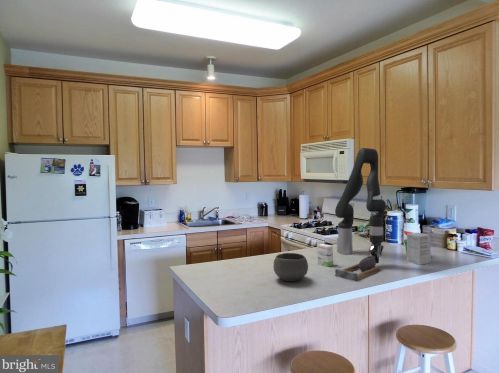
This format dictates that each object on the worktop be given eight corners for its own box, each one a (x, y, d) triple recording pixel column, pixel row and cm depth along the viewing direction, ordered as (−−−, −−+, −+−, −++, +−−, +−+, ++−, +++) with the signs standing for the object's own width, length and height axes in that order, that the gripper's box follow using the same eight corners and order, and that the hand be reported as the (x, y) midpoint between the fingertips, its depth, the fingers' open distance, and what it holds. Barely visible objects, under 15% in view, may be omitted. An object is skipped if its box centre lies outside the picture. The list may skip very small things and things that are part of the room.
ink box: (333, 265, 202) (333, 245, 201) (327, 266, 199) (327, 247, 198) (322, 262, 209) (322, 243, 208) (317, 263, 206) (316, 244, 205)
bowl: (273, 274, 187) (272, 252, 186) (305, 274, 186) (305, 251, 186) (274, 285, 169) (273, 260, 169) (310, 285, 169) (310, 260, 168)
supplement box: (431, 263, 201) (431, 234, 200) (419, 265, 197) (419, 236, 196) (417, 259, 209) (417, 232, 208) (406, 261, 206) (406, 233, 205)
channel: (335, 275, 182) (335, 269, 182) (360, 266, 198) (360, 260, 198) (355, 281, 173) (355, 274, 172) (380, 270, 189) (380, 264, 189)
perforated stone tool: (363, 273, 185) (362, 260, 184) (354, 271, 189) (354, 258, 188) (378, 268, 194) (378, 256, 193) (370, 266, 198) (370, 254, 198)
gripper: (375, 231, 204) (376, 259, 205) (364, 234, 196) (364, 264, 197) (387, 232, 199) (388, 261, 200) (376, 236, 190) (377, 266, 191)
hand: (376, 262), depth 198 cm, fingers closed
